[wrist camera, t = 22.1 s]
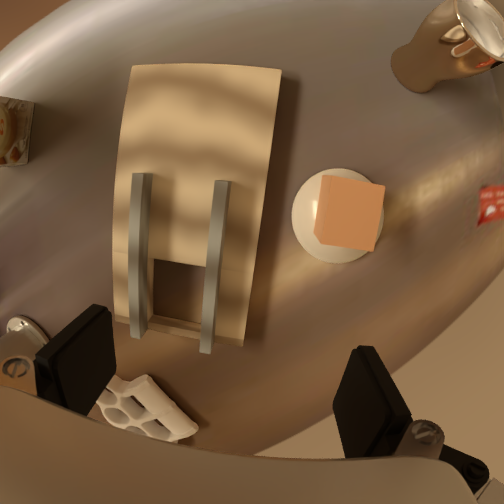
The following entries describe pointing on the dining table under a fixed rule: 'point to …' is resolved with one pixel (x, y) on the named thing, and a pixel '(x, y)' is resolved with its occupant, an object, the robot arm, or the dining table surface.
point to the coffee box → (15, 131)
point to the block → (348, 213)
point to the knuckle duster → (144, 409)
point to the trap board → (192, 190)
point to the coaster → (306, 216)
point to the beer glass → (451, 45)
